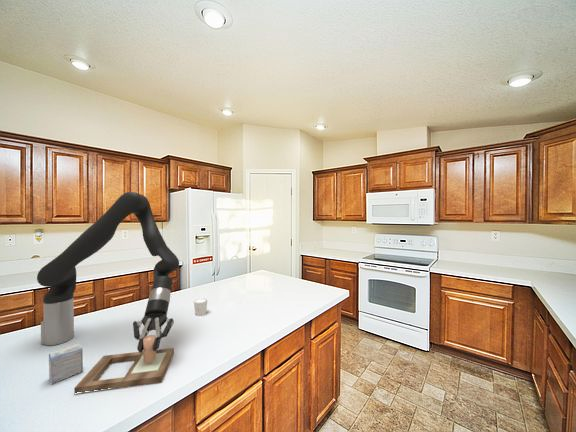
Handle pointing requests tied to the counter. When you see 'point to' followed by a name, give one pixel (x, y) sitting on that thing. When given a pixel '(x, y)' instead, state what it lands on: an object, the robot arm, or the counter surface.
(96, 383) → the hole board
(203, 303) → the white candle
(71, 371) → the medicine box
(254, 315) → the counter surface
